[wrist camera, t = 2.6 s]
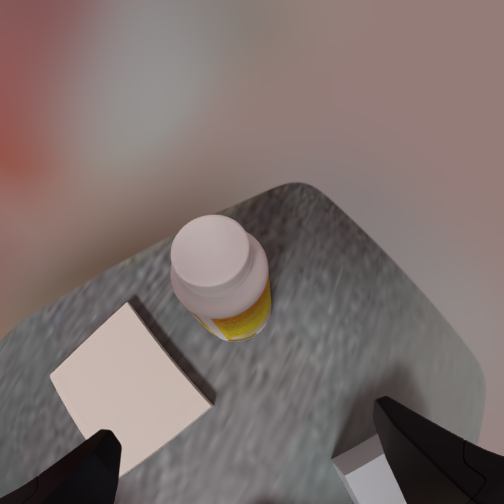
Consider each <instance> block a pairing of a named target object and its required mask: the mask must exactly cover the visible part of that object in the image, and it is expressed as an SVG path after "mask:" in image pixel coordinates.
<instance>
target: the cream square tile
mask: <svg viewBox="0 0 504 504" xmlns="http://www.w3.org/2000/svg"><path fill="white" fill-rule="evenodd" d="M50 378H51V380H52V382H53V384H54V386H55V388H56V390H57V392H58V394H59V396H60V397H61V399H62V401H63V403H64V405H65V406H66V408H67V410H68V412H69V413H70V415H71V417H72V418H73V420H74V422H75V423H76V425H77V426H78V428H79V429H80V431H81V433H82V434H83V436H84V437H85V439H86V440H87V439H88V438H90V437H91V436H92V435H93V434H95V433H96V432H97V431H99V430H100V429H109V430H111V431H112V432H113V433H114V434H115V436H116V437H117V439H118V440H119V442H120V443H121V446H122V453H121V462H120V471H119V478H120V477H122V476H124V475H125V474H127V473H128V472H130V471H131V470H132V469H134V468H135V467H137V466H138V465H139V464H141V463H142V462H144V461H145V460H146V459H148V458H149V457H150V456H152V455H153V454H154V453H156V452H157V451H159V450H160V449H161V448H162V447H164V446H165V445H166V444H168V443H169V442H170V441H172V440H173V439H174V438H175V437H177V436H178V435H179V434H181V433H182V432H183V431H184V430H186V429H187V428H188V427H189V426H190V425H192V424H193V423H194V422H195V421H197V420H198V419H199V418H200V417H201V416H203V415H204V414H205V413H206V412H207V411H209V410H210V409H211V408H212V407H213V406H214V405H213V404H212V403H211V402H210V401H209V400H208V399H207V398H206V397H205V395H204V394H203V393H202V392H201V391H200V390H199V389H198V388H197V387H196V385H195V384H194V383H193V382H192V381H191V380H190V379H189V377H188V376H187V375H186V374H185V373H184V372H183V371H182V369H181V368H180V367H179V366H178V365H177V363H176V362H175V361H174V360H173V359H172V357H171V356H170V355H169V354H168V352H167V351H166V350H165V349H164V347H163V346H162V345H161V344H160V342H159V341H158V340H157V339H156V337H155V336H154V335H153V333H152V332H151V331H150V329H149V328H148V327H147V325H146V324H145V323H144V321H143V320H142V319H141V317H140V316H139V315H138V313H137V312H136V311H135V309H134V308H133V306H132V305H130V304H129V303H128V302H127V303H125V304H124V305H123V306H122V307H121V308H120V309H119V310H118V311H117V312H116V313H114V314H113V315H112V316H111V317H110V318H109V319H108V320H107V321H106V322H105V323H104V324H103V325H102V326H100V327H99V328H98V329H97V330H96V331H95V332H94V333H93V334H92V335H91V336H90V337H89V338H88V339H87V340H86V341H85V342H84V343H82V344H81V345H80V346H79V347H78V348H77V349H76V350H75V351H74V352H73V353H72V354H71V355H70V356H69V357H68V358H67V359H66V360H65V361H64V362H63V363H62V364H61V365H60V366H59V367H58V368H57V369H56V370H55V371H54V372H53V373H52V374H51V375H50Z"/></svg>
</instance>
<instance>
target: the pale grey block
mask: <svg viewBox="0 0 504 504" xmlns="http://www.w3.org/2000/svg"><path fill="white" fill-rule="evenodd" d="M331 461H332V463H333V465H334V467H335V469H336V471H337V473H338V475H339V477H340V479H341V480H342V482H343V484H344V486H345V488H346V490H347V492H348V494H349V496H350V498H351V499H352V501H353V503H354V504H407V503H406V501H405V499H404V497H403V494H402V492H401V490H400V488H399V486H398V483H397V481H396V479H395V477H394V475H393V473H392V471H391V468H390V466H389V464H388V462H387V460H386V457H385V454H384V451H383V448H382V445H381V442H380V439H379V436H378V433H377V434H376V435H374V436H372V437H371V438H369V439H367V440H366V441H364V442H362V443H361V444H359V445H357V446H355V447H353V448H352V449H350V450H348V451H346V452H344V453H342V454H340V455H339V456H337V457H335V458H333V459H331Z"/></svg>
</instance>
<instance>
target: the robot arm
mask: <svg viewBox="0 0 504 504" xmlns="http://www.w3.org/2000/svg"><path fill="white" fill-rule="evenodd" d="M373 420H374V423H375V426H376V429H377V433H378V436H379V439H380V442H381V445H382V448H383V451H384V454H385V457H386V460H387V462H388V464H389V466H390V468H391V471H392V473H393V475H394V477H395V479H396V481H397V483H398V486H399V488H400V490H401V492H402V494H403V497H404V499H405V501H406V503H407V504H504V456H501V455H498V454H495V453H493V452H490V451H487V450H485V449H483V448H481V447H478V446H476V445H474V444H472V443H470V442H468V441H467V440H464V439H463V438H461V437H459V436H457V435H455V434H453V433H451V432H450V431H448V430H446V429H444V428H442V427H440V426H439V425H437V424H435V423H433V422H431V421H430V420H428V419H426V418H424V417H423V416H421V415H419V414H417V413H416V412H414V411H412V410H410V409H409V408H407V407H405V406H404V405H402V404H400V403H398V402H397V401H395V400H393V399H392V398H390V397H388V396H384V397H381V398H378V399H376V400H375V402H374V412H373ZM121 453H122V446H121V443H120V442H119V440H118V439H117V437H116V436H115V434H114V433H113V432H112V431H111V430H109V429H100V430H99V431H97V432H96V433H95V434H93V435H92V436H91V437H90V438H88V439H87V440H86V441H84V442H83V443H82V444H80V445H79V446H78V447H76V448H75V449H74V450H72V451H71V452H70V453H68V454H67V455H66V456H64V457H63V458H62V459H60V460H59V461H58V462H56V463H55V464H54V465H52V466H51V467H49V468H48V469H47V470H45V471H44V472H42V473H41V474H40V475H39V476H37V477H35V478H34V479H33V480H31V481H30V482H28V483H27V484H25V485H24V486H22V487H20V488H18V489H17V490H15V491H13V492H11V493H9V494H7V495H5V496H4V497H2V498H0V504H114V500H115V495H116V491H117V486H118V480H119V471H120V462H121Z"/></svg>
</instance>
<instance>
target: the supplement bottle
mask: <svg viewBox="0 0 504 504" xmlns="http://www.w3.org/2000/svg"><path fill="white" fill-rule="evenodd" d="M171 262H172V266H171V283H172V287H173V290H174V292H175V294H176V296H177V298H178V299H179V301H180V302H181V303H182V304H183V306H184V307H185V308H186V309H187V310H188V311H189V312H190V313H191V314H192V315H193V316H194V317H195V318H196V319H197V320H198V321H199V322H200V323H201V324H202V325H203V326H204V327H205V328H206V329H208V330H209V331H210V332H211V333H212V334H213V335H215V336H216V337H218V338H220V339H222V340H226V341H231V342H239V341H244V340H247V339H250V338H252V337H254V336H256V335H257V334H258V333H259V332H261V331H262V329H263V328H264V327H265V326H266V324H267V322H268V320H269V317H270V314H271V293H270V280H269V270H268V262H267V257H266V254H265V252H264V250H263V248H262V246H261V245H260V243H259V242H258V241H257V240H256V239H255V238H254V237H253V236H252V235H250V234H249V233H247V232H246V231H245V230H244V229H243V227H242V226H241V225H240V224H239V223H238V222H236V221H235V220H233V219H231V218H229V217H226V216H223V215H206V216H203V217H199V218H196V219H194V220H192V221H190V222H189V223H188V224H186V225H185V226H184V227H183V228H182V229H181V230H180V231H179V232H178V234H177V235H176V237H175V239H174V241H173V244H172V247H171Z"/></svg>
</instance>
